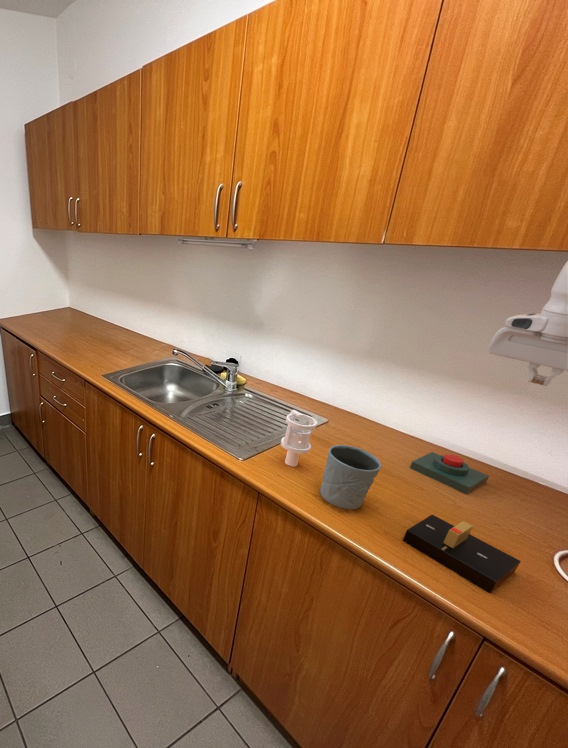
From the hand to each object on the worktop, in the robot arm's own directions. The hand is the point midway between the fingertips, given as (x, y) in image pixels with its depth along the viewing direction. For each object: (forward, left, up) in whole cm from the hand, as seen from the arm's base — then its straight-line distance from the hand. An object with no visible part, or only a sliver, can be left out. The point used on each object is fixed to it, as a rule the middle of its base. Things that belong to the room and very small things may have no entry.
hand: (538, 383), depth 91 cm
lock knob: (-7, +38, -24) cm, 46 cm away
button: (+6, +8, -24) cm, 26 cm away
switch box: (+6, +8, -27) cm, 29 cm away
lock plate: (-8, +38, -27) cm, 47 cm away
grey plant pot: (+13, +41, -27) cm, 51 cm away
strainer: (+28, +39, -27) cm, 55 cm away
